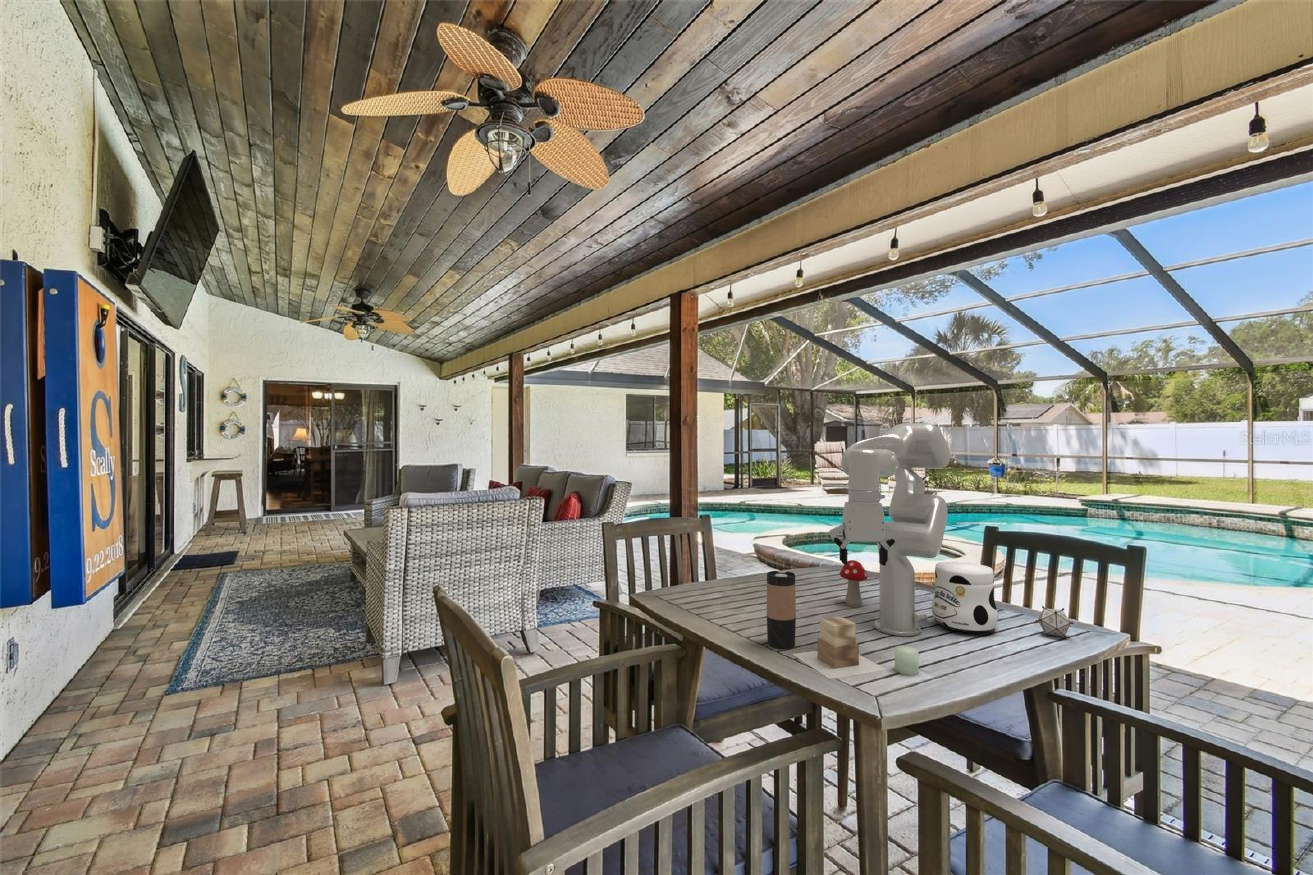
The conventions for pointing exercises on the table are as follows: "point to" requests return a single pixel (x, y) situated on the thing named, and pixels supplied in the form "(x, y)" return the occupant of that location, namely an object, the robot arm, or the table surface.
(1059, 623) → the beige icosahedron ornament
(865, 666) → the stone tile
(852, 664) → the tower base block
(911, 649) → the sage cylinder
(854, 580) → the decorative mushroom
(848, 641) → the tower top block
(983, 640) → the table surface
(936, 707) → the table surface
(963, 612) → the milk container
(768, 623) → the travel mug
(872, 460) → the robot arm
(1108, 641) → the table surface
